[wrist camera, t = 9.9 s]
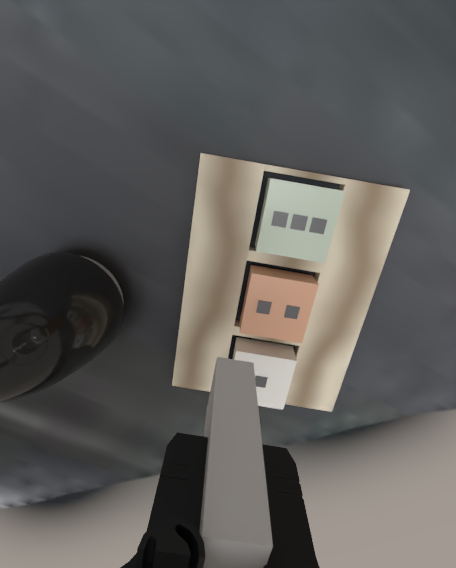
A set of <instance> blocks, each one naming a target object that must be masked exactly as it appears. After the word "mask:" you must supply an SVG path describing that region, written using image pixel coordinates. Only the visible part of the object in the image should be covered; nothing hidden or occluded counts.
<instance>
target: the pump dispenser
mask: <svg viewBox="0 0 456 568" xmlns="http://www.w3.org/2000/svg"><path fill="white" fill-rule="evenodd" d="M123 319H124V301H123V295H122V291H121V288H120V286H119V284H118V282H117V280H116V279H115V277H114V276H113V275H112V274H111V272H110V271H109V270H108V269H106V268H105V267H104V266H103V265H101V264H100V263H98V262H96V261H94V260H92V259H90V258H87V257H84V256H79V255H75V254H71V253H63V252H57V253H49V254H45V255H42V256H39V257H36V258H34V259H32V260H30V261H28V262H27V263H25V264H23V265H22V266H20V267H19V268H17V269H16V270H15V271H13V272H12V273H10V274H9V275H8V276H7V277H5V278H4V279H3V280H2V281H0V402H7V401H11V400H16V399H20V398H23V397H26V396H29V395H32V394H34V393H37V392H39V391H41V390H43V389H46V388H48V387H50V386H52V385H53V384H55V383H57V382H59V381H60V380H62V379H64V378H66V377H67V376H69V375H71V374H72V373H74V372H75V371H77V370H78V369H80V368H81V367H83V366H84V365H86V364H87V363H88V362H90V361H91V360H92V359H94V358H95V357H96V356H97V355H99V354H100V353H101V352H102V351H103V350H104V349H105V348H107V347H108V346H109V345H110V343H111V342H112V341H113V340H114V339H115V337H116V336H117V334H118V333H119V331H120V329H121V327H122V323H123Z"/></svg>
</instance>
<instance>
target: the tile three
mask: <svg viewBox="0 0 456 568" xmlns="http://www.w3.org/2000/svg"><path fill="white" fill-rule="evenodd" d="M344 194H345V191H341V190H336V189H330V188H324V187H318V186H313V185H307V184H301V183H296V182H290V181H284V180H279V179H273V178H268V180H267V185H266V191H265V196H264V201H263V206H262V211H261V216H260V221H259V226H258V231H257V236H256V241H255V248H256V251H257V252H263V253H268V254H274V255H280V256H286V257H292V258H298V259H303V260H309V261H315V262H321V263H325V261H326V257H327V254H328V250H329V247H330V243H331V240H332V236H333V233H334V229H335V226H336V222H337V219H338V215H339V212H340V208H341V205H342V201H343V198H344Z"/></svg>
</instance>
